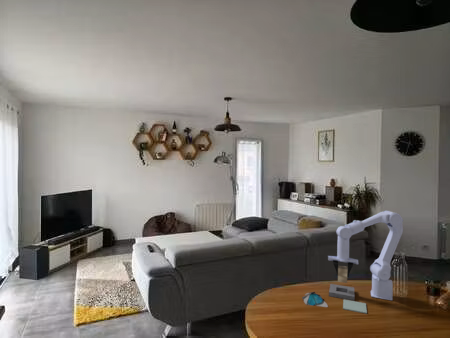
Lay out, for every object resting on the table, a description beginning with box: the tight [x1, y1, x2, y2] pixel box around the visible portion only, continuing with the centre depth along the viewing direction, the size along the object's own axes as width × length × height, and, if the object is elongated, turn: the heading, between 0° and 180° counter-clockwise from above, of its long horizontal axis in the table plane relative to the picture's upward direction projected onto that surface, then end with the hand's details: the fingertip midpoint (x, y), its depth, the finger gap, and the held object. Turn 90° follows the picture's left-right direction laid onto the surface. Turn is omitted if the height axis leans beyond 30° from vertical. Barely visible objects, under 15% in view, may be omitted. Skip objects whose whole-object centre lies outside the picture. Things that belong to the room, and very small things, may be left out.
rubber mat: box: [342, 299, 368, 315], centre depth 139 cm, size 10×10×1 cm
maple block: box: [337, 265, 348, 284], centre depth 153 cm, size 4×4×7 cm
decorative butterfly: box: [302, 291, 329, 308], centre depth 143 cm, size 10×6×10 cm
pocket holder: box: [328, 283, 355, 301], centre depth 153 cm, size 12×12×2 cm
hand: (342, 275), depth 153 cm, fingers closed on maple block, 4 cm apart
